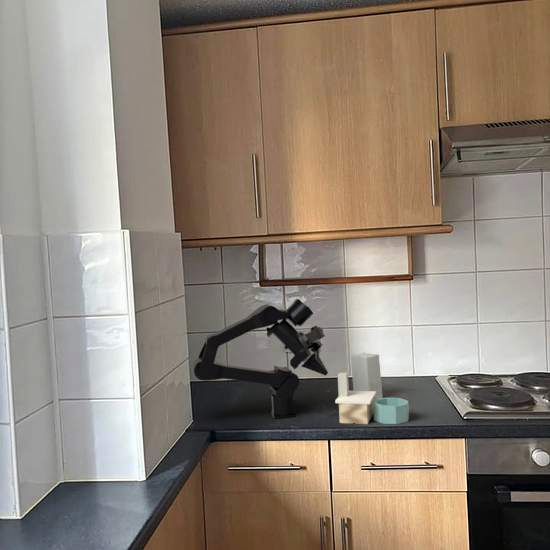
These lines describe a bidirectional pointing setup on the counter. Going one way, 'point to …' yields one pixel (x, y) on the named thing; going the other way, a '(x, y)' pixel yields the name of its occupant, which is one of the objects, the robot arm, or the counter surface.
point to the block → (355, 413)
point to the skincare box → (366, 373)
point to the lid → (352, 393)
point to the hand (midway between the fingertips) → (326, 374)
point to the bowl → (391, 410)
